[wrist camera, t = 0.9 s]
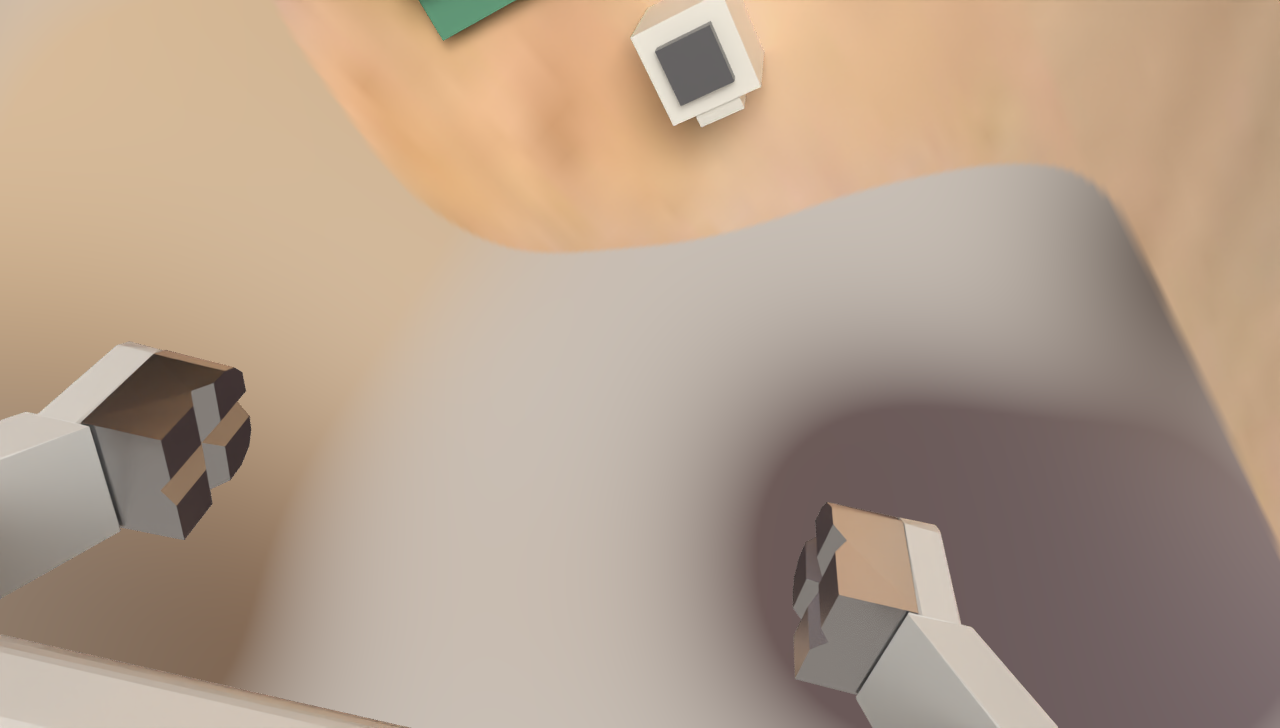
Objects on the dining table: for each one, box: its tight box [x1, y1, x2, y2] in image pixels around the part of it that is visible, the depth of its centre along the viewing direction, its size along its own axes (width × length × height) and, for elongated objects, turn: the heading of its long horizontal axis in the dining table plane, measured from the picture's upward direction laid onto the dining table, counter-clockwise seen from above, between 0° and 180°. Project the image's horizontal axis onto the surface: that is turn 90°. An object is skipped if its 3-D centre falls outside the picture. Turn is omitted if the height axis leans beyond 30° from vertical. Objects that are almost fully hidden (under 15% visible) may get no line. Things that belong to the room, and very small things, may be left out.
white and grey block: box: [630, 0, 764, 127], centre depth 35 cm, size 4×5×6 cm
